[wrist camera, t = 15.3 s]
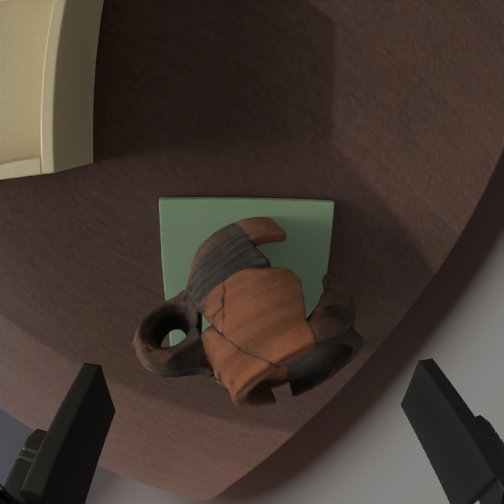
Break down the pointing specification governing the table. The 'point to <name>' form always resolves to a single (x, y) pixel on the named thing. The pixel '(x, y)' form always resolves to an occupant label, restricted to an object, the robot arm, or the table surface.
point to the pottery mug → (249, 321)
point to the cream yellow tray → (47, 84)
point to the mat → (278, 253)
